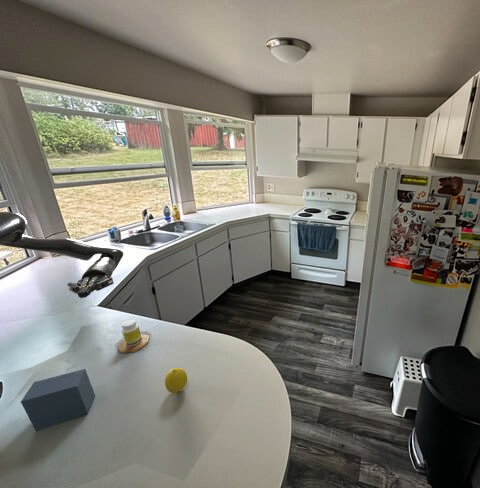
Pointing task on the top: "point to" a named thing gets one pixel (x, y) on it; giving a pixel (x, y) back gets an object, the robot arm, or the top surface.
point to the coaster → (130, 349)
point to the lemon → (175, 380)
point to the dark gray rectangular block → (58, 399)
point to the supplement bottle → (131, 332)
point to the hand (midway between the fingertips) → (82, 295)
